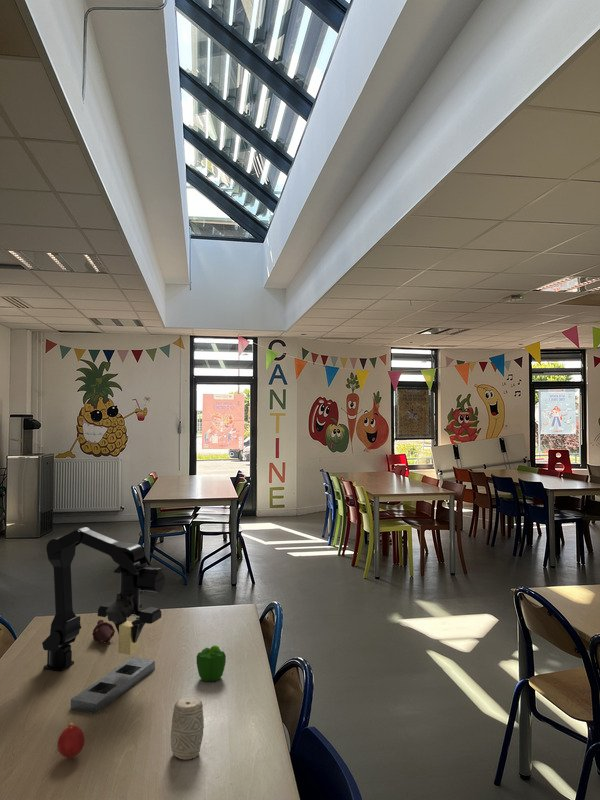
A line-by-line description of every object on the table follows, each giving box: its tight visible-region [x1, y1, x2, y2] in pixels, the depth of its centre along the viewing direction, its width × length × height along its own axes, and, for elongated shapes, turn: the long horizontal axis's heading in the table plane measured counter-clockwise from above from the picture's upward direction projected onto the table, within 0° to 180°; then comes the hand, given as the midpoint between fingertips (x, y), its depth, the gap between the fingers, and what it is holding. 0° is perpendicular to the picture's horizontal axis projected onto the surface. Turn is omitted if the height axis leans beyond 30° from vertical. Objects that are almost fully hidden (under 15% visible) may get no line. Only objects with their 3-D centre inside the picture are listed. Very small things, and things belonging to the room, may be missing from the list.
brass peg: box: [117, 620, 139, 655], centre depth 169 cm, size 4×4×8 cm
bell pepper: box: [196, 645, 227, 682], centre depth 169 cm, size 8×8×10 cm
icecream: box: [92, 619, 116, 644], centre depth 195 cm, size 7×7×15 cm
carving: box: [170, 696, 205, 761], centre depth 131 cm, size 6×8×12 cm
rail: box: [70, 656, 156, 715], centre depth 163 cm, size 8×28×2 cm, turn 162°
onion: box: [56, 722, 86, 760], centre depth 129 cm, size 6×6×8 cm
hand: (128, 641), depth 169 cm, fingers closed on brass peg, 4 cm apart
